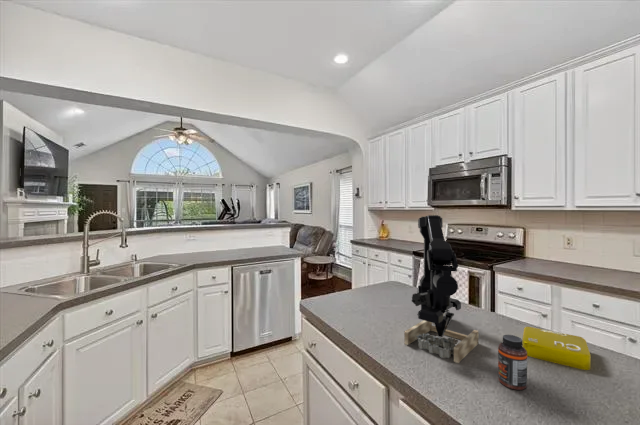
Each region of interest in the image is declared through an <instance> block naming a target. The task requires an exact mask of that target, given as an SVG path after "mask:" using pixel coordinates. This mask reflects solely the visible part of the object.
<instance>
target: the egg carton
mask: <svg viewBox="0 0 640 425" xmlns="http://www.w3.org/2000/svg"><path fill="white" fill-rule="evenodd" d="M417 338H418V339H417V346H418V348H419V349H420V350H427V351H428V353H430V354H437V355H439V357H440V358H441V359H446V358H447V359H450V358H451V357H452V356H451V355H454V347H455V346H456V345H457V344H459V339H456V338H453V337H448V338H446V337H443V336H442V337H440V336H438V335H433V334H432V335H431V334H430V333H429V332H427V333H426V334H425V333H423V334H421V335H419V336H417ZM442 347H443V348H442Z"/></svg>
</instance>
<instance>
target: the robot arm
mask: <svg viewBox="0 0 640 425" xmlns="http://www.w3.org/2000/svg"><path fill="white" fill-rule="evenodd" d="M443 224H444V223H443V217H441V216H440V215H437V214H436V215H435V214H428V215H425V216H420V217H419V218H418V221H417V228H418V229H419V233H420V235H421V236H422V238H423V274H422V276H421V278H420V279H419V285H417V290H416V293H413V294H412V295H411V303H413V304H414V305H415V307H418V306H420V310H418V311H417V313H416V314H417V318H418V319H419V320H421V321H423V320H425V321H429V322H432V324H434V326H435V327H436V330H437V332H436V333H437V336H439V337H440V338H443V336H445V335H444V333H445V331H446V330H448V329H447V328H448V327H449V325H450V323H451V321H452V319H453V317H454V316H455V313H453V312H450V309H451V308H455V310H456V311H460V310H461V309H462V303H461V301H460V300H459V299H458V298H457V299H456V298H452V297H451V296H453V295H455V294H456V293H457V291H458V289H459V284H458V281H457V280H456V279H455V277H453V275H452V272H458V267H459V265H458V264H459V263H458V258H457V255H456V253H455V251H454V250H453V249H452V246H451V244H450V243H449V242H448V241H447V240H446V239H445V236H444V232H443V227H444V225H443Z"/></svg>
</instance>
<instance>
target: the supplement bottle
mask: <svg viewBox="0 0 640 425" xmlns="http://www.w3.org/2000/svg"><path fill="white" fill-rule="evenodd" d="M522 340H523V338H521V337H519V336H517V335H513V334H504V335H502V342H500V343H499V344H498V346H497V347H498V348H497V377H498V378H497V379H498V382H499V383H501V384H502V385H503V386H504V387H507V388H509V389H510V390H511V389H512V390H516V391H523V390H526V388H527V386H528V356H527V351H526V349H525V348H524V347H522V345H523V344H522Z"/></svg>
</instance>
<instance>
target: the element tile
mask: <svg viewBox="0 0 640 425" xmlns="http://www.w3.org/2000/svg"><path fill="white" fill-rule="evenodd" d="M522 344H523V345H522V347H524V348H525V349H526V351H527V357H529V358H534V359H537V360H541V361H546V362H550V363H554V364H558V365H562V366H565V367H568V368H569V367H570V368H573V369H578V370H584V371H589V370H591V366H592V364H591V363H592V359H591V358H592V357H591V356H592V355H591V353H590V349H589V346H588V343H587V340H586V339H585V338H583V337H582V336H579V335H573V334H570V333H569V334H568V333H564V332H563V333H562V332H559V331H558V332H557V331H554V330H547V329H543V328H537V327H533V326H525V327H524V328H523V334H522Z"/></svg>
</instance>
